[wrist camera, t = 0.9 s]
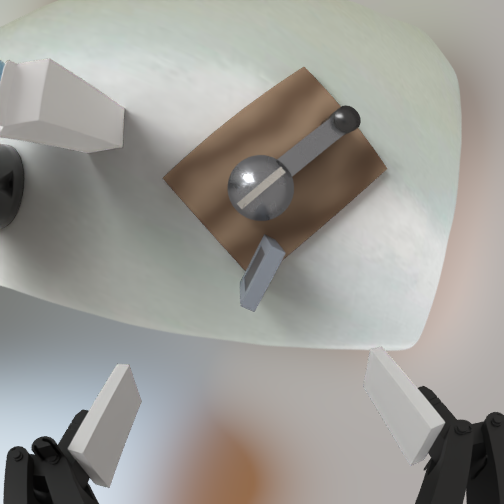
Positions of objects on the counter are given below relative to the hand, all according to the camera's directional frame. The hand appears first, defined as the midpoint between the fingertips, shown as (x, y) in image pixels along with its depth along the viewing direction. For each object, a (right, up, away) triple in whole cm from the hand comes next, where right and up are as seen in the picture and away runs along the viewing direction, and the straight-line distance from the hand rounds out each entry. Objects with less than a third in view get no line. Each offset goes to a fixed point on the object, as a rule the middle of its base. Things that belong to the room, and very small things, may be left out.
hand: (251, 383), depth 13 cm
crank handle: (+5, +18, +20) cm, 27 cm away
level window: (+1, +6, +22) cm, 23 cm away
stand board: (+4, +18, +22) cm, 28 cm away
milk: (-21, +24, +19) cm, 37 cm away
